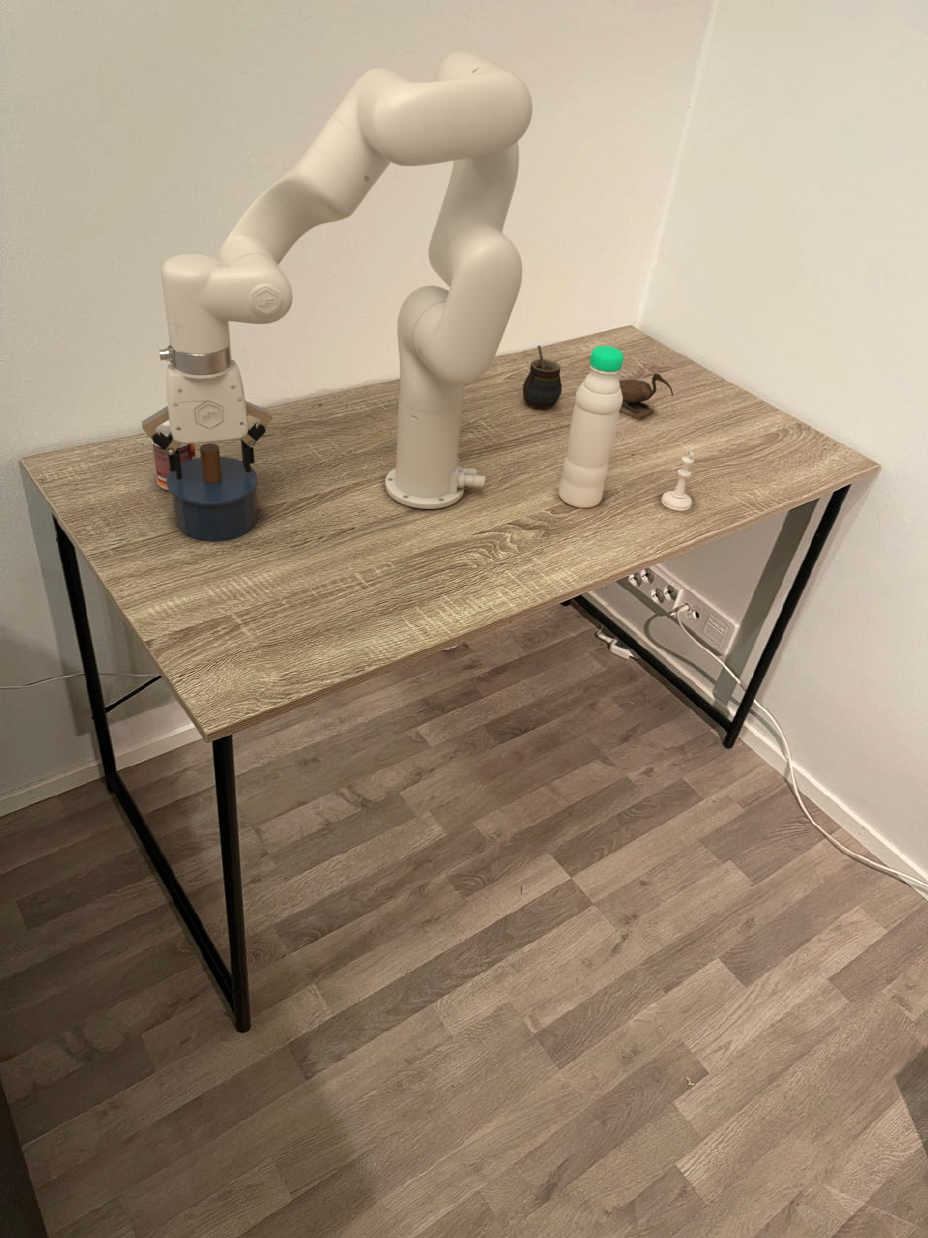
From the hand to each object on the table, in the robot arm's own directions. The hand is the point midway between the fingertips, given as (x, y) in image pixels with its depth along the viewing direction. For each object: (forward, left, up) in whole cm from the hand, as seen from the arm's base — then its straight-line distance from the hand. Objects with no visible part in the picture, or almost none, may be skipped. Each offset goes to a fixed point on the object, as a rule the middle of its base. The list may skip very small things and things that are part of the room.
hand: (213, 470), depth 132 cm
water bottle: (-55, -14, -8) cm, 57 cm away
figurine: (-68, -46, -8) cm, 83 cm away
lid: (0, 0, -2) cm, 2 cm away
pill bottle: (+8, -9, -8) cm, 15 cm away
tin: (0, 0, -8) cm, 8 cm away
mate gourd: (-50, -46, -8) cm, 68 cm away
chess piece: (-71, -15, -8) cm, 73 cm away
